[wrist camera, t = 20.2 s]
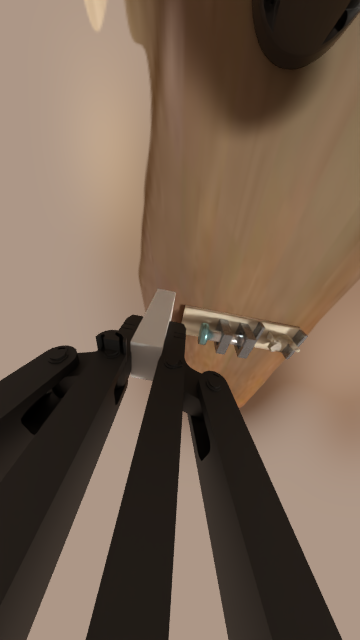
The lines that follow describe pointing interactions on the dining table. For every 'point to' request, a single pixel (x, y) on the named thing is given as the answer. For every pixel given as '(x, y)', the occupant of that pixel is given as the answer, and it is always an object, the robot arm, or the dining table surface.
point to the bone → (276, 343)
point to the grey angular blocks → (249, 338)
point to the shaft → (216, 336)
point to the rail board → (234, 324)
